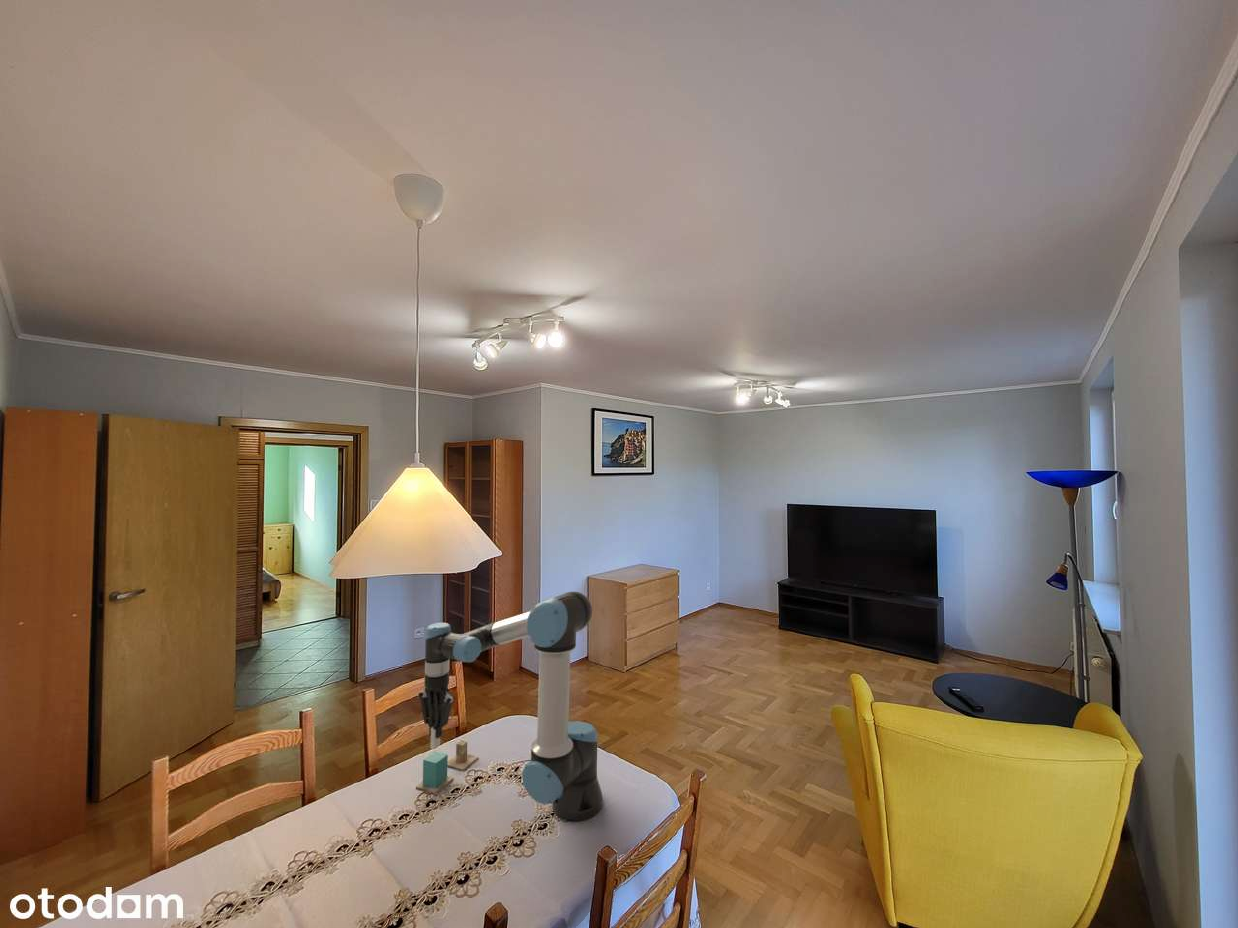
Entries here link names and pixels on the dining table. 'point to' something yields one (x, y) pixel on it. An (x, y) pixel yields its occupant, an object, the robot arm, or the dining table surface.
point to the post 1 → (433, 790)
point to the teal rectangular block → (435, 769)
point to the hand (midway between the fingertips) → (435, 746)
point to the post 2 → (461, 757)
